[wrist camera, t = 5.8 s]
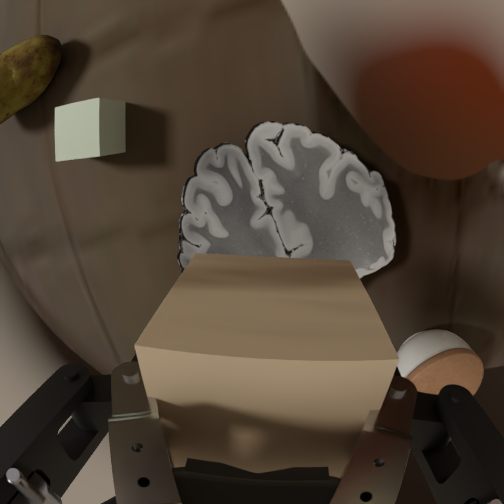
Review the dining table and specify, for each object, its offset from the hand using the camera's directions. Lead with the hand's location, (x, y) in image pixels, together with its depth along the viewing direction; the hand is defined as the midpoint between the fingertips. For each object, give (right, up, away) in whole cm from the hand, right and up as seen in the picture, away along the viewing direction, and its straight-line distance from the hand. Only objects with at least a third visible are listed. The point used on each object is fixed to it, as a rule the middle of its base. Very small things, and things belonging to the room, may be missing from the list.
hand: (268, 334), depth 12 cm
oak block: (0, 0, +1) cm, 1 cm away
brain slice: (+2, +6, +17) cm, 18 cm away
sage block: (-15, +15, +15) cm, 26 cm away
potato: (-26, +22, +13) cm, 37 cm away
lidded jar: (+20, -9, +21) cm, 30 cm away
